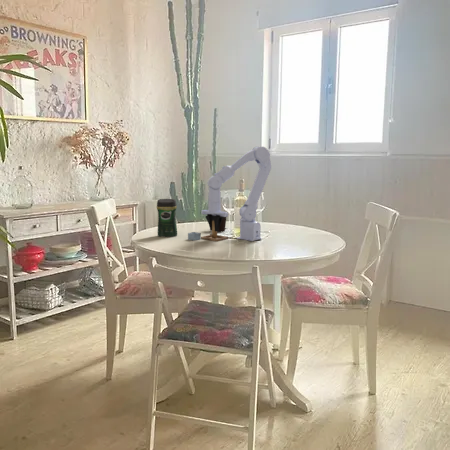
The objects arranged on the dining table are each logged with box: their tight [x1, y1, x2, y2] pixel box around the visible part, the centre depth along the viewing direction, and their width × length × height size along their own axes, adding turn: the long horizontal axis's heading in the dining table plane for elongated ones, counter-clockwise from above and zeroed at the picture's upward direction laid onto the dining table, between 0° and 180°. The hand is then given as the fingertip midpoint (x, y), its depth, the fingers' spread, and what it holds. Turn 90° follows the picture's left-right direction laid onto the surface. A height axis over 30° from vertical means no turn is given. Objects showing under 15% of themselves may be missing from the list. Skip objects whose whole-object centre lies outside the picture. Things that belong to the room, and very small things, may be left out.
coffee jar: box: [156, 198, 178, 238], centre depth 236 cm, size 10×8×19 cm
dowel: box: [211, 221, 218, 238], centre depth 228 cm, size 2×2×8 cm
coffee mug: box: [217, 210, 227, 233], centre depth 254 cm, size 12×9×10 cm
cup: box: [187, 231, 202, 241], centre depth 227 cm, size 4×4×4 cm
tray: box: [200, 234, 229, 242], centre depth 229 cm, size 10×8×1 cm
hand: (214, 230), depth 228 cm, fingers closed on dowel, 2 cm apart
